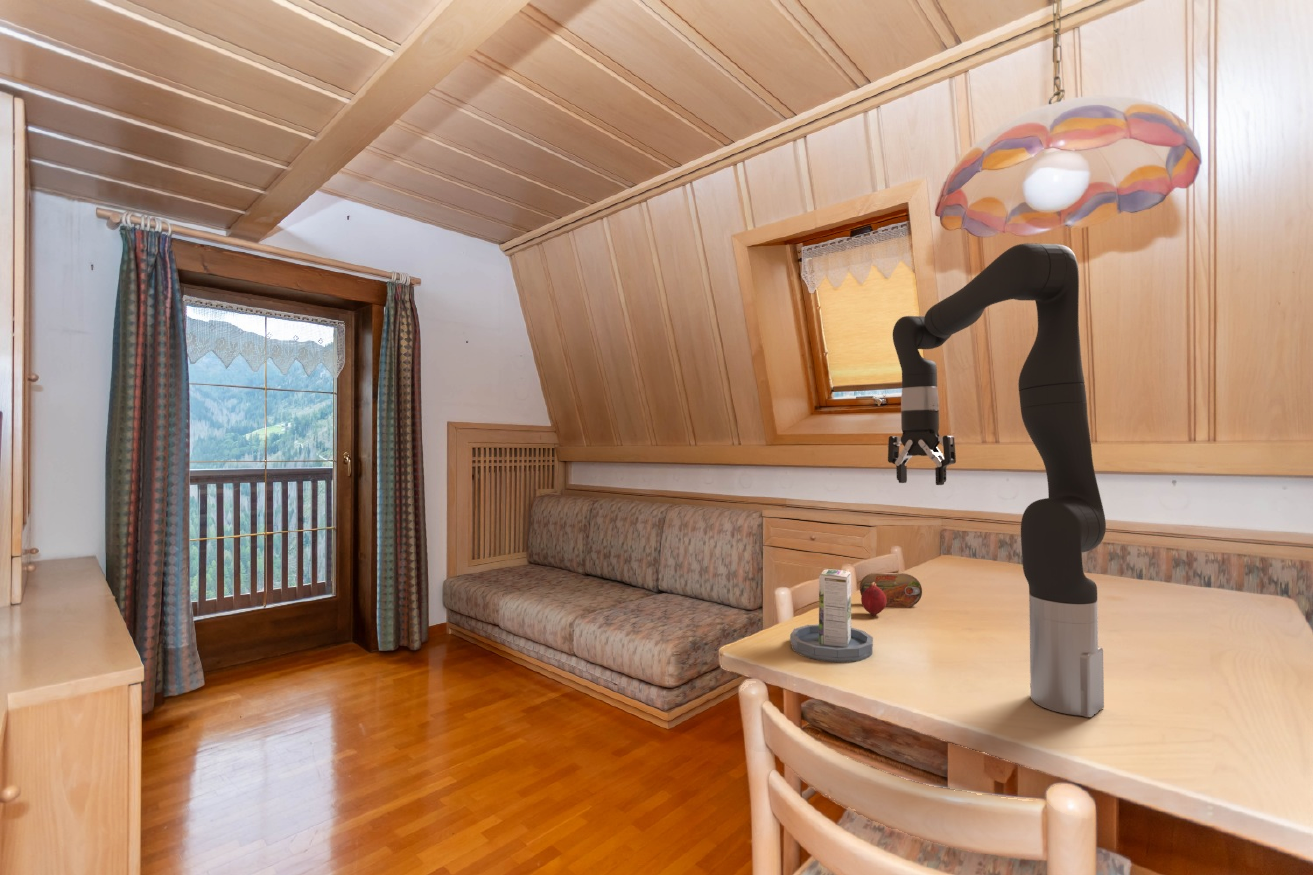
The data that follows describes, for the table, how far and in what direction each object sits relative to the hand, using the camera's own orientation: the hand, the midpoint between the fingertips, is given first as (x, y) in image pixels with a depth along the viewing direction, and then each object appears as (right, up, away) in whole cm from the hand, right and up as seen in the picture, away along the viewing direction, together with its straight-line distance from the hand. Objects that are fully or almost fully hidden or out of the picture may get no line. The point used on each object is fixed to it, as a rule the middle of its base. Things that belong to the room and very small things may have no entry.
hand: (920, 483), depth 134 cm
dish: (-21, -33, -6) cm, 40 cm away
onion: (-4, -33, +16) cm, 37 cm away
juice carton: (-20, -33, -6) cm, 39 cm away
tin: (+3, -33, +25) cm, 42 cm away
